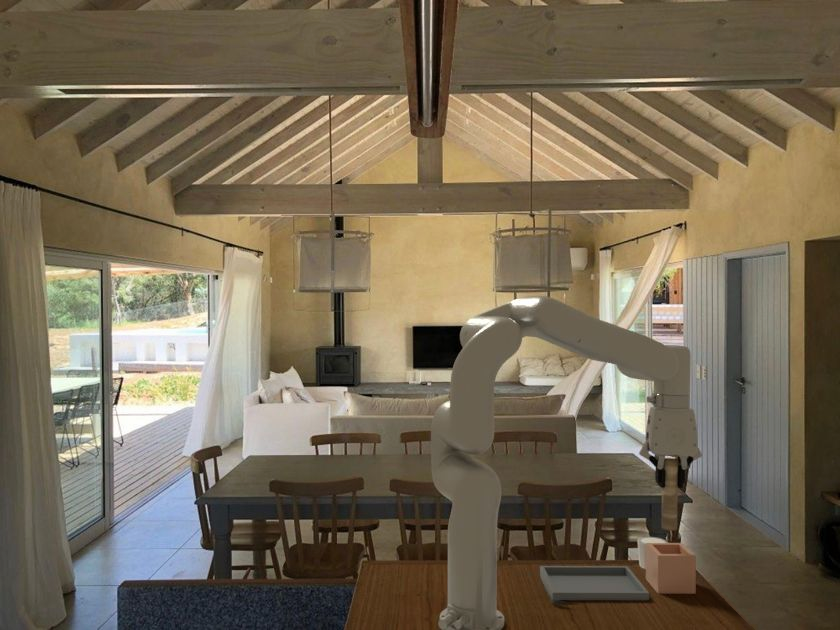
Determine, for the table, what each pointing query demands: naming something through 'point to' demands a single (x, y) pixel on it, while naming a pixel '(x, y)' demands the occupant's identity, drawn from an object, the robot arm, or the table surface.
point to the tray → (591, 583)
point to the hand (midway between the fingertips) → (669, 485)
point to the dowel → (670, 495)
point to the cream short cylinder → (642, 548)
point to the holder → (670, 568)
